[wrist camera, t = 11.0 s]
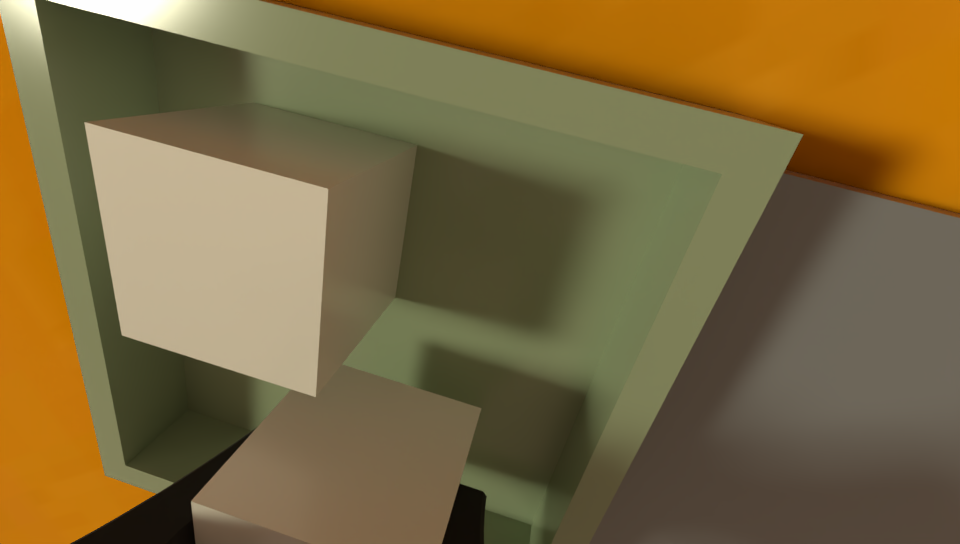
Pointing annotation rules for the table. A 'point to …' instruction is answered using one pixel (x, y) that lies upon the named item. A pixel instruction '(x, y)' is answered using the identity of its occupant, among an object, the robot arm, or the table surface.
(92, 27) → the olive dish
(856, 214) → the slate board
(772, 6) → the table surface
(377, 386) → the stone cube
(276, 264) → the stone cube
